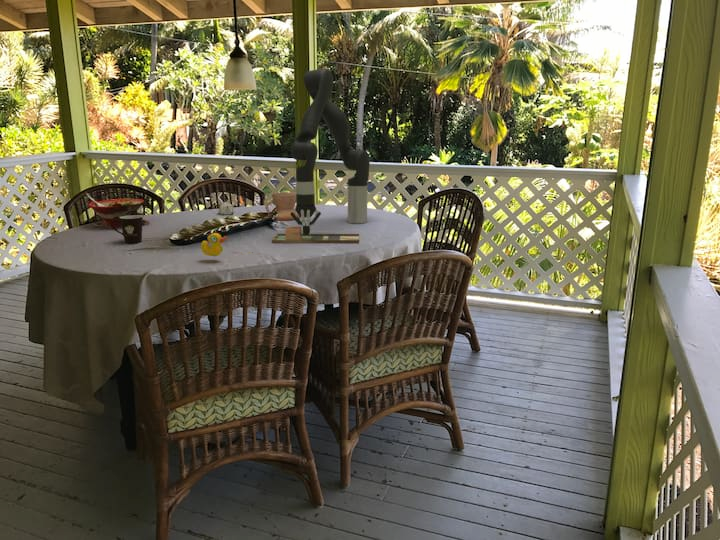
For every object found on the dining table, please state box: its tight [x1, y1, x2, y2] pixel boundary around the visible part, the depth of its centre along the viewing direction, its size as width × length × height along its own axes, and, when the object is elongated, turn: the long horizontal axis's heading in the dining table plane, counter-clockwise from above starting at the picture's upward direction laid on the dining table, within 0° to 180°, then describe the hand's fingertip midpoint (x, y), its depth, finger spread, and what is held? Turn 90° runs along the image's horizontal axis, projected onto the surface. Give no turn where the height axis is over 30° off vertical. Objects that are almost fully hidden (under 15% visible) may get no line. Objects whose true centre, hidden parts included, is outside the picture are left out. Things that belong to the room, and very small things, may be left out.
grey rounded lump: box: [217, 199, 236, 216], centre depth 285 cm, size 9×8×10 cm
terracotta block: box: [284, 226, 303, 240], centre depth 237 cm, size 6×6×4 cm
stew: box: [85, 192, 150, 230], centre depth 261 cm, size 28×24×16 cm
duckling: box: [200, 232, 227, 257], centre depth 207 cm, size 10×4×8 cm, turn 80°
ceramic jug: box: [264, 191, 301, 222], centre depth 276 cm, size 18×14×14 cm
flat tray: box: [271, 233, 360, 244], centre depth 237 cm, size 14×35×1 cm, turn 90°
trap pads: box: [310, 236, 340, 240], centre depth 238 cm, size 12×12×1 cm
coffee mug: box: [110, 214, 143, 244], centre depth 232 cm, size 12×9×10 cm
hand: (306, 234), depth 237 cm, fingers closed
